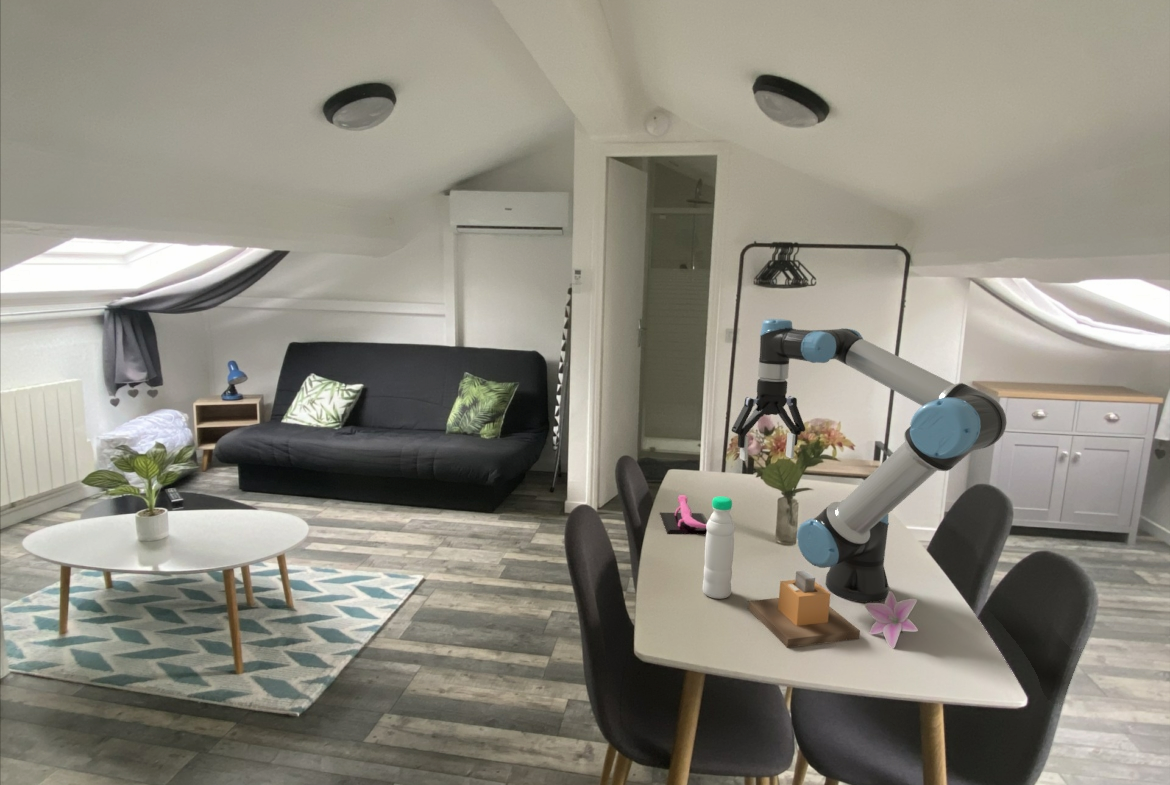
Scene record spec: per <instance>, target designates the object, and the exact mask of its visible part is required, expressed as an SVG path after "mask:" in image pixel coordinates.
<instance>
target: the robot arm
mask: <svg viewBox="0 0 1170 785" xmlns="http://www.w3.org/2000/svg"><path fill="white" fill-rule="evenodd" d="M759 337H760V338H759V339H760V340H759V341H760V342H759V359H758V371H757V372H758V374H757V375H758V376H757V377H758V379H757V383H756V384H757V385H756V393H757V394H756V398H751V397H749V396H746V397H745V399H744V404H743V406H742V409H740V412H739V414H738V416H737V417H736V420H735V422H734V424H733V426H732V428H731V432H732V433H734V434H736V435H738V436H737V437H738V438H737V447H738V448H739V459H740V460H742V461H744V462H746V461H748V454H749V453H748V451H749V450H748V448H749V435H748V433H749V432H750V431H751V430H752V429H753V427H754V426H755V425H756V424H757V422H758V421H759V420H760V419H761V418H762V417H764V416H770V415H773V416H776V415H777V416H779V417H780V419H781V420H782V422H783V423H784V424H785V426H786V427H787V429H788V430H789V431H790V432H787V434H786V445H785V457H786V458H789V459H791V460H793V459H794V457H795V456H794V455H795V446H796V447H797V445H798V438H799V435H801V433H803V432H806V426H805V424H804V422H803V419H802V415H801V413H800V410H799V407H798V399H797V397H794V396H791V395H789V396H787V397H786V395H787V392H788V381H787V379H788V378H789V369H790V368H789V367H790V366H789V365H790V360H797V361H798V360H799V361H804V362H809V363H813V364H815V363H817V364H818V363H820V364H825V363H826V364H827V363H828V362H830V360H836V361H838V362H840V363H842V364H844V365H846V366H848V367H850V368H852V369H853V370H855V371H857V372H860V373H861V374H863V375H864V376H866V377H868V378H870V379H873V380H874V381H876V382H877V383H879V384H882V385H884V386H885V387H887V388H889V389H890V390H892V391H894V392H895V393H898V394H899V395H902V396H903V397H905V398H906V399H909V400H910V401H912V402H914V403H916V404H918V405H920V408H918V409H917V410H916V411H915V413H913V416H912V419H911V421H910V426H909V427H908V428H907V429H906V430H905V431H904V434H903V437H904V438H903V439H904V442H903V443H902V444H901V445H900V446H899V447H898V448H897V449H896V450H895V451H894V452H893V453H891V455H890V456H888V457H887V459H885V460H884V461H883V462H882V463H881V464H880V465H879V466H878V467H877V468H876V469H875V470H874V471H872V472H871V474H870V475H869V476H868V477H866V478H865V479H864V480H863V481H862V482H861V483H860V484H859V485H858V486H857V487H856V488H855V489H854V490H853V491H852V492H850V493H849V495H848V496H846V497H845V499H843V500H841V501H834V502H832V503H830V504H828V505H827V506H826V508H824V509H823V510H822V511H821V512H820V513H819V514H818V515H817V516H815V517H814V518H809V519H806V520H805V521H803V522H802V523H801V524H800V525H799V527H798V529H797V533H796V539H797V546H798V549H799V551H800V553H801V554H802V556H803V557H804V558H805V560H806V561H807V562H808V563H809V564H811V565H812V566H814V567H817V568H820V569H825V568H829V570H828V572H827V573H826V576H825V587H826V588H827V589H828V590H829V591H830V592H831V593H833V594H834V595H836V596H838V597H841V598H844V599H846V600H850V601H856V602H859V603H860V602H862V603H879V602H882V601H884V600H886V598H887V595H888V593H889V591H890V590H889V588H890V586H889V583H888V582H889V581H888V577H887V574H886V570H885V564H884V563H885V558H886V557H885V556H886V548H887V547H886V545H887V537H888V530H889V529H888V528H889V525H890V522H889V514H890V513H891V512H892V511H893V510H894V509H895V508H896V507H898V506H899V505H900V504H901V503H902V502H903V501H904V500H906V499H907V498H908V497H909V496H911V494H912V493H914V492H915V491H916V490H917V489H918V488H919V487H920V486H921V485H922V484H924V483H925V482H926V481H928V480H929V478H931V476H933V475H934V474H935V473H937V471H941V472H948V471H950V470H951V469H952V468H954V467H955V466H956V465H957V464H959V463H960V462H961V461H962V460H963V459H965V458H966V457H967V456H968V455H969V454H970V453H972V452H973V451H977V450H981V449H985V448H988V447H990V446H993V445H994V444H996V443H997V442H998V441H999V440H1000V439H1001V438H1002V437H1003V435H1004V433H1005V431H1006V428H1007V415H1006V413H1005V410H1004V408H1003V407H1002V405H1001V404H1000V403H999V401H998V400H996V399H994V398H993V397H992V396H990V395H988V394H986V393H984V392H982V391H980V390H979V389H975V388H974V387H971V386H969V385H968V384H965V383H963V382H958V383H953V382H951V381H949V380H946V379H945V378H942V377H940V376H939V375H936V374H934V373H933V372H931V371H929V370H927V369H924V368H923V367H920V366H918V365H916V364H914V363H912V362H910V361H909V360H906V359H904V358H902V357H900V356H898V355H897V354H894V353H891V352H890V351H888V350H886V349H883V348H881V346H877V345H876V344H873V343H872V342H870V341H868V340H866V339H864V338H863V336H862V334H860V332H859V331H857V330H855V329H853V328H852V329H851V328H846V327H845V328H837V329H812V330H810V329H809V330H808V329H796V328H793V321H791V320H790V319H782V318H778V319H777V318H768V319H767V318H766V319H764V320H763V321H762V323H761V331H760V334H759ZM786 405H787V407H788V410H789V411H790V415H791V417H790V416H789V415H788V412H787V411H786V409H785V408H784V407H785V406H786ZM755 406H756V407H755ZM753 407H755V408H754V409H753ZM752 410H753V411H752ZM751 412H752V413H751ZM750 414H751V415H750ZM791 418H792V419H791Z"/></svg>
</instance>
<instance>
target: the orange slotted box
mask: <svg viewBox="0 0 1170 785" xmlns="http://www.w3.org/2000/svg"><path fill="white" fill-rule="evenodd" d="M778 593H779V594H778V598H779V604H778V609H779V610H780V611H781V612H782V613H783V614H784V615H785V616H786V617H787V618H788V619H790V620H791V621H792V622H793V623H794V624H795V625H796V626H799V625H808V624H817V623H826V622H828V615H829V606H830V603H831V593H832V592H831V593H830V592H829V591H828V590H827V589H825V588H824V587H822V585H820V584H819V583H818V582H816V581H815V585H814V592H809V593H804V592H802V591H801V590H800V589H799V588H798V587H796V586H795V579H788V580H780V582H779V592H778Z"/></svg>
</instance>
